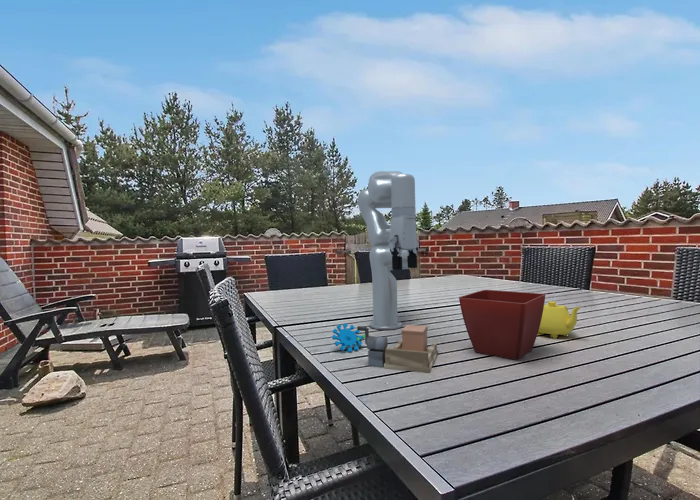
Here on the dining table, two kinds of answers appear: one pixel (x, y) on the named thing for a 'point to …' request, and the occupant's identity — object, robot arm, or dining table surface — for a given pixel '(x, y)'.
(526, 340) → the plant pot
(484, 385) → the dining table surface
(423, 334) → the pink-tan cube
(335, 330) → the gear
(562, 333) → the teapot
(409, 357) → the bay
